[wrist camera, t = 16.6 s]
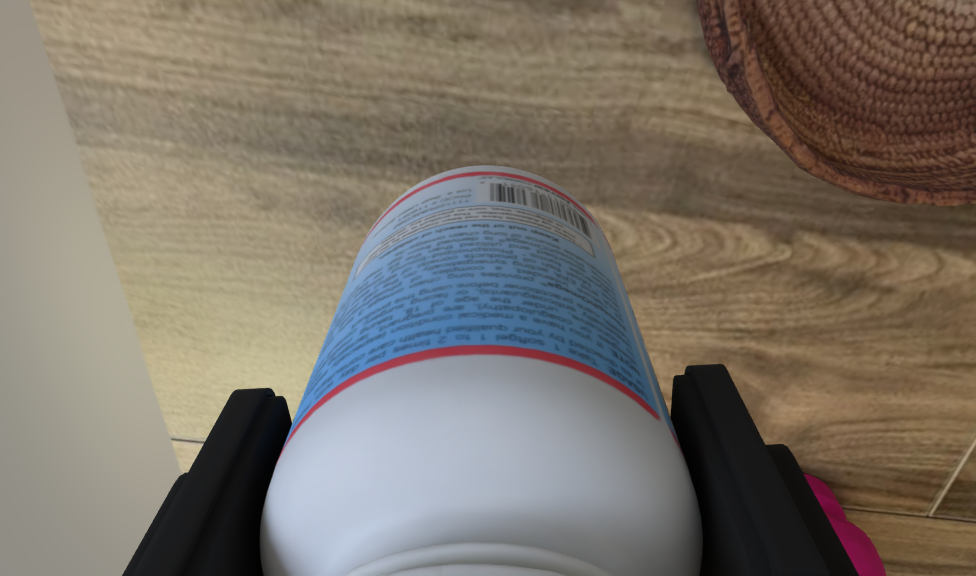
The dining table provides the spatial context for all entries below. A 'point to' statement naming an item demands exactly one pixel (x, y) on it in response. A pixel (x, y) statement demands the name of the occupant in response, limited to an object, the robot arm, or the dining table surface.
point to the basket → (858, 89)
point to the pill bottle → (483, 404)
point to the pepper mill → (848, 532)
